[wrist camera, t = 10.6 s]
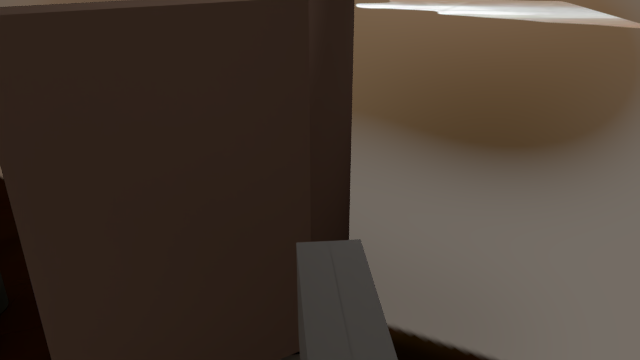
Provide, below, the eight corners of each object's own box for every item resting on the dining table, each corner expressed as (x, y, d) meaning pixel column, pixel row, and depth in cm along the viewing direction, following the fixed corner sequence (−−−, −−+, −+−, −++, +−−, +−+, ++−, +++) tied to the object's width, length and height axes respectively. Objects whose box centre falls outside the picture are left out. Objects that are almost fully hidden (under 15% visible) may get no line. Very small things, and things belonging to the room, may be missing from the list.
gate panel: (-26, 491, 16) (-250, -89, 9) (-27, 432, 17) (-213, -84, 11) (358, 333, 22) (372, -78, 16) (327, 301, 24) (329, -76, 18)
